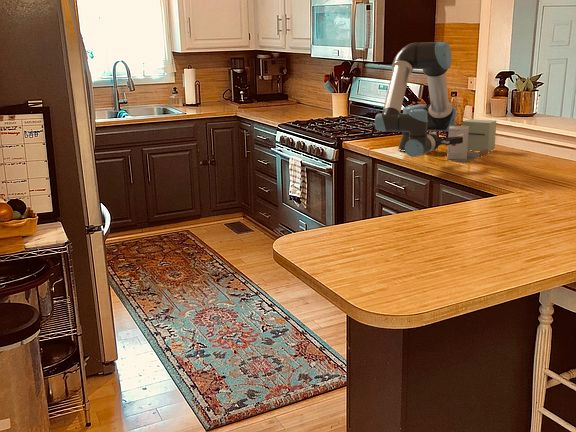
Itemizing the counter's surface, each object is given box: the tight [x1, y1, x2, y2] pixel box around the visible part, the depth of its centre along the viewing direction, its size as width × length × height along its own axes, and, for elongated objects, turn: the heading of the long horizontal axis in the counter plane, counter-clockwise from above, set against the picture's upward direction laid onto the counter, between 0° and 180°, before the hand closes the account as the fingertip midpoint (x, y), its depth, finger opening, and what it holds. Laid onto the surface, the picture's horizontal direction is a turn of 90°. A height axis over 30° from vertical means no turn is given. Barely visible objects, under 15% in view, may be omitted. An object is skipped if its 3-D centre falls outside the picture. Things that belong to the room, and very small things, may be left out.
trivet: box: [447, 156, 477, 163], centre depth 301 cm, size 14×14×1 cm
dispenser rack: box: [445, 118, 497, 159], centre depth 312 cm, size 24×16×15 cm
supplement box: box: [447, 125, 469, 160], centre depth 299 cm, size 9×9×15 cm
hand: (449, 135), depth 290 cm, fingers open, 13 cm apart
